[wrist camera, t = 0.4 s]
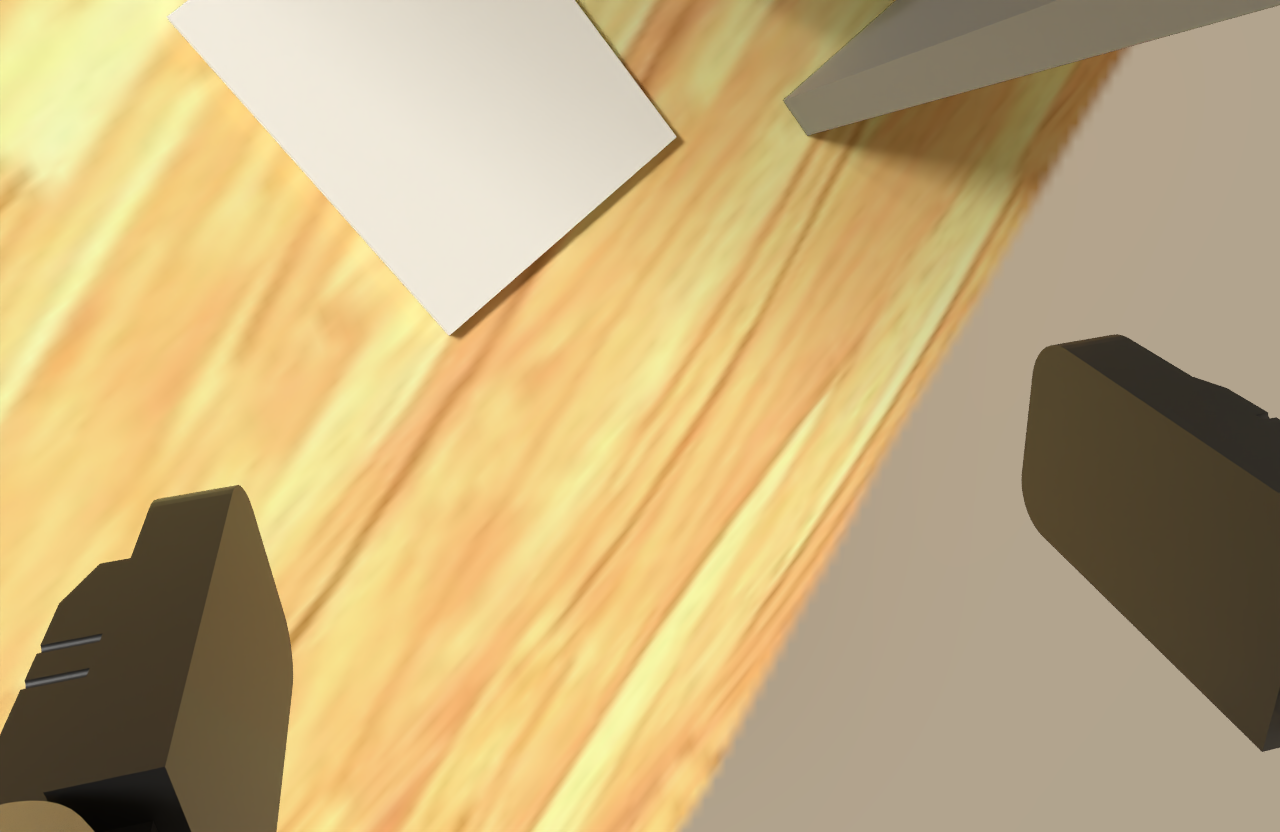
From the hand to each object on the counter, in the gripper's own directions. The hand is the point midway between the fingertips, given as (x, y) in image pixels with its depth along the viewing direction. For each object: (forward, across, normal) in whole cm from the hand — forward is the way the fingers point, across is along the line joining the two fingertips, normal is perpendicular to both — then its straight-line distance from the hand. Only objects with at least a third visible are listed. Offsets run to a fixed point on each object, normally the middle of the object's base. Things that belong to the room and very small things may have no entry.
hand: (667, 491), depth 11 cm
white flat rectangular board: (+25, +1, 0) cm, 25 cm away
